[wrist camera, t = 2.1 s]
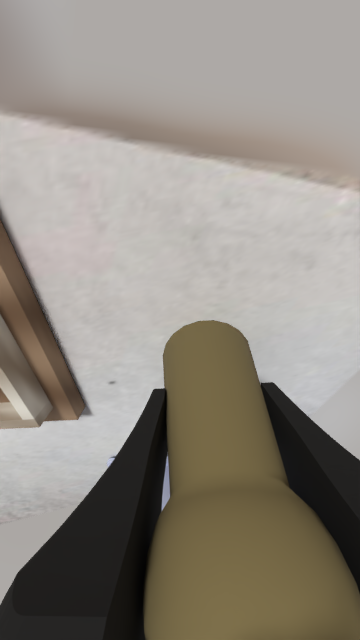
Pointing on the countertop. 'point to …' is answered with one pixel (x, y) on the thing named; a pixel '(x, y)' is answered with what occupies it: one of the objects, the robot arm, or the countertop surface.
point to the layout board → (29, 354)
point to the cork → (235, 513)
